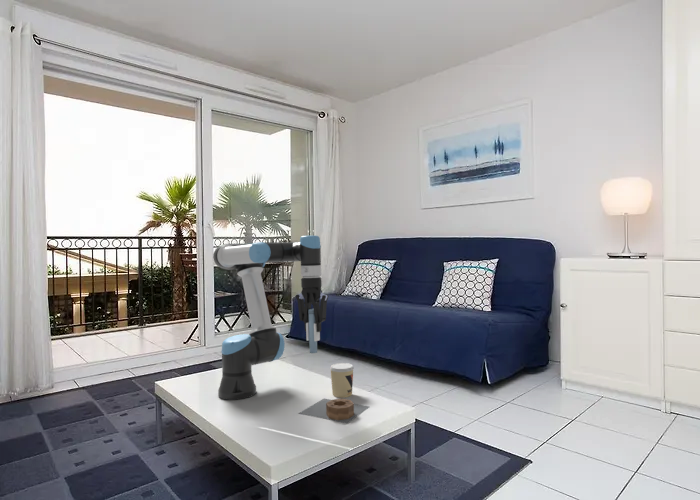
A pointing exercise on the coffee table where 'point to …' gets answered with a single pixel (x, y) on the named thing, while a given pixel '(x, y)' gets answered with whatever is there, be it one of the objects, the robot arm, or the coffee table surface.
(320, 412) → the mat
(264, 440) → the coffee table surface
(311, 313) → the blue rounded-end rod
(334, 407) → the bead
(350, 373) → the coffee cup
